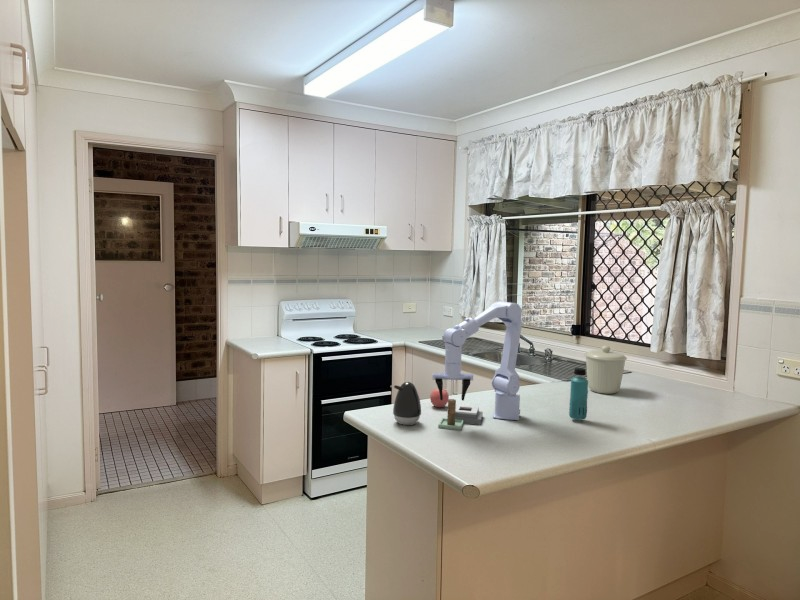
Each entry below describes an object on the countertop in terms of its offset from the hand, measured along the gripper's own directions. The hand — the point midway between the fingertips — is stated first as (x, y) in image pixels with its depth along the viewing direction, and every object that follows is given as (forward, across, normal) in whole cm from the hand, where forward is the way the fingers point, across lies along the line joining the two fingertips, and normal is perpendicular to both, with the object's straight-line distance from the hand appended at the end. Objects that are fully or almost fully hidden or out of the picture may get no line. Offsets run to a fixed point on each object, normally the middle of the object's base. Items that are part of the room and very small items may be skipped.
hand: (452, 399), depth 201 cm
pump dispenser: (+10, +16, -2) cm, 19 cm away
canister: (+10, -74, -54) cm, 93 cm away
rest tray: (+10, 0, 0) cm, 10 cm away
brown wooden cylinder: (+9, 0, 0) cm, 9 cm away
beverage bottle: (+10, -48, -9) cm, 50 cm away
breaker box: (+10, -6, -8) cm, 14 cm away
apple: (+10, +3, -23) cm, 25 cm away
